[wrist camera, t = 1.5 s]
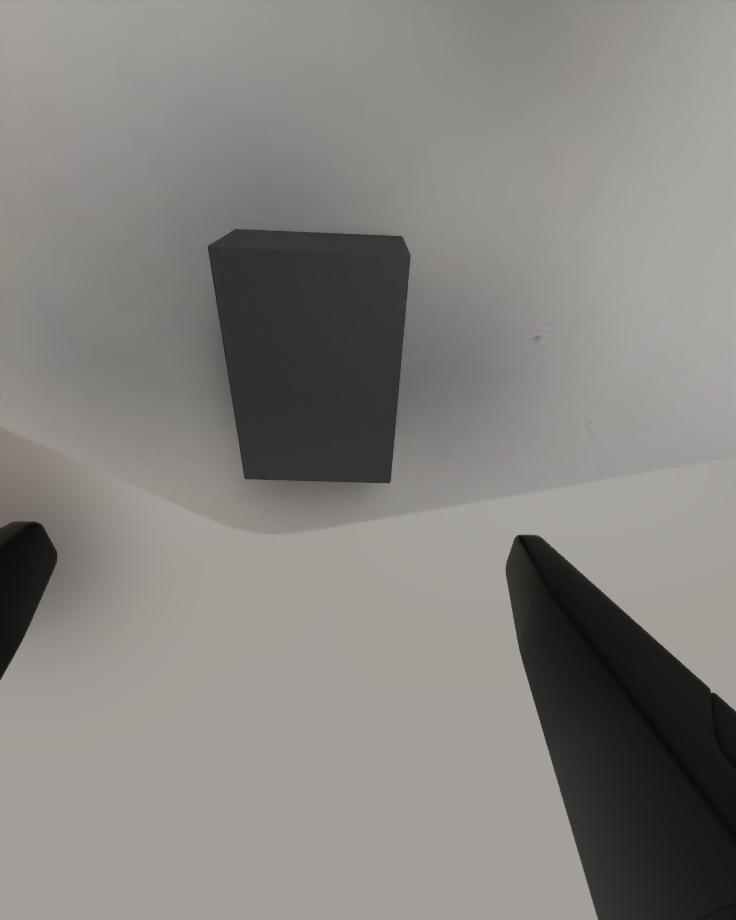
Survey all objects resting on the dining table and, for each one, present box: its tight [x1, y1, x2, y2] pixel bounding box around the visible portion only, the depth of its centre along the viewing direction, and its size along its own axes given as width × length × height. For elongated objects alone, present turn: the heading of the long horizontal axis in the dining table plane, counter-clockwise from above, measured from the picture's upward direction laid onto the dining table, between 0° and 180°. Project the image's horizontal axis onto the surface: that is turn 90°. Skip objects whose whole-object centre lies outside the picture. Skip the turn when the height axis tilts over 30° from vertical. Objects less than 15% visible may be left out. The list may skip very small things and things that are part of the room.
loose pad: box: [208, 229, 410, 483], centre depth 15 cm, size 8×6×3 cm
